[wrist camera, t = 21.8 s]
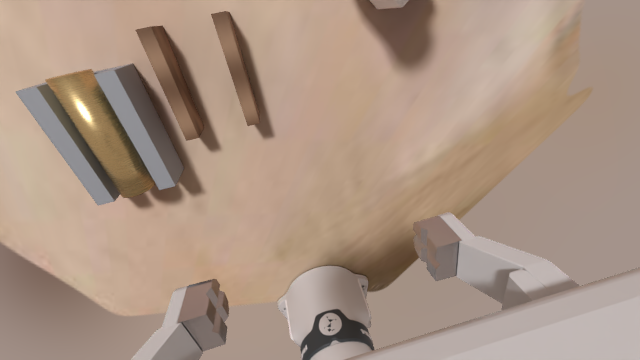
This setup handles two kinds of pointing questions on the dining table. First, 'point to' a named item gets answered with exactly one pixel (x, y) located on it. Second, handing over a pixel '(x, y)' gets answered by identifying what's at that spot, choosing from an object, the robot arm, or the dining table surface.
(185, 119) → the pair of brown bars
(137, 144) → the cradle
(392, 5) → the medicine bottle
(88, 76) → the axle
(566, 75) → the dining table surface
